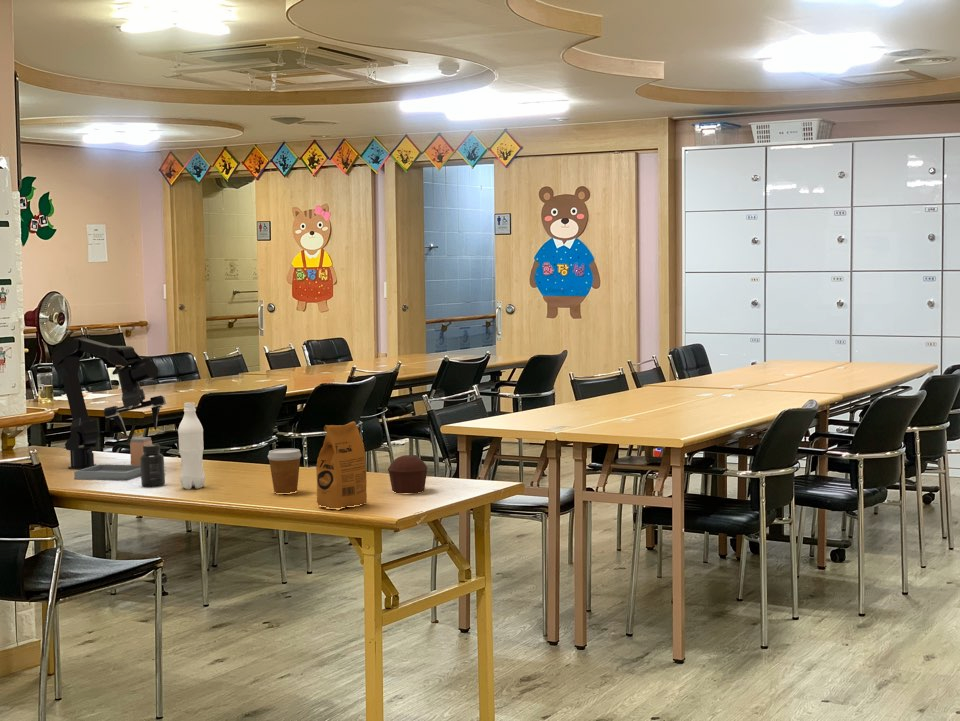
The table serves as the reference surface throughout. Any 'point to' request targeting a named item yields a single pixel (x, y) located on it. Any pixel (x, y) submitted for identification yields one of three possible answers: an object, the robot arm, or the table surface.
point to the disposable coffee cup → (284, 469)
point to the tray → (109, 472)
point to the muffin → (407, 474)
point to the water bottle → (191, 448)
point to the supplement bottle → (152, 467)
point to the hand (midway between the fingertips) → (141, 433)
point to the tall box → (138, 448)
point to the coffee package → (341, 467)
